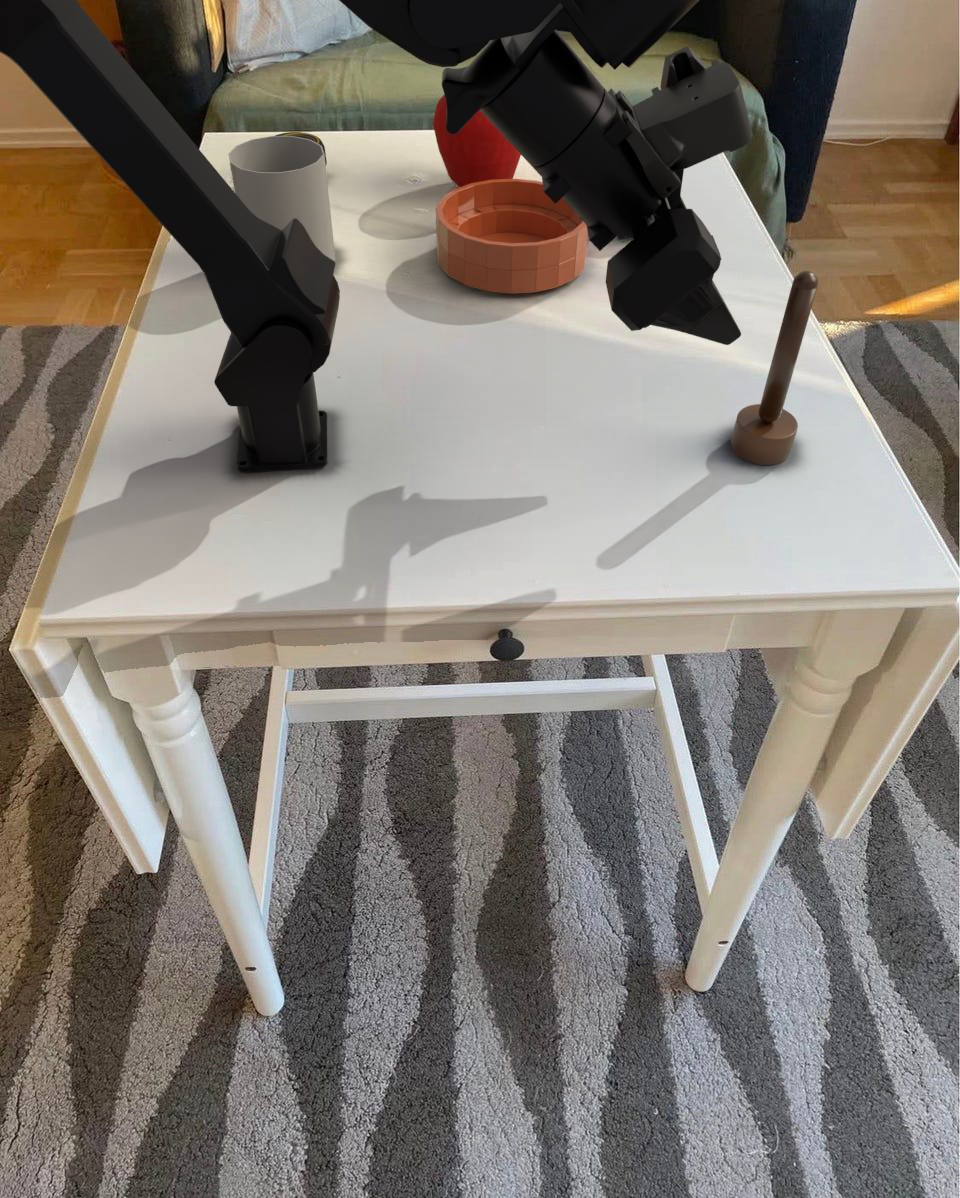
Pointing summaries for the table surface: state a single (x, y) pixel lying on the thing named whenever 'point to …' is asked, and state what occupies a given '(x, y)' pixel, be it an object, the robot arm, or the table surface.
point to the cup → (285, 185)
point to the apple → (474, 149)
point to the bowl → (509, 237)
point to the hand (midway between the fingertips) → (720, 302)
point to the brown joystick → (777, 386)
